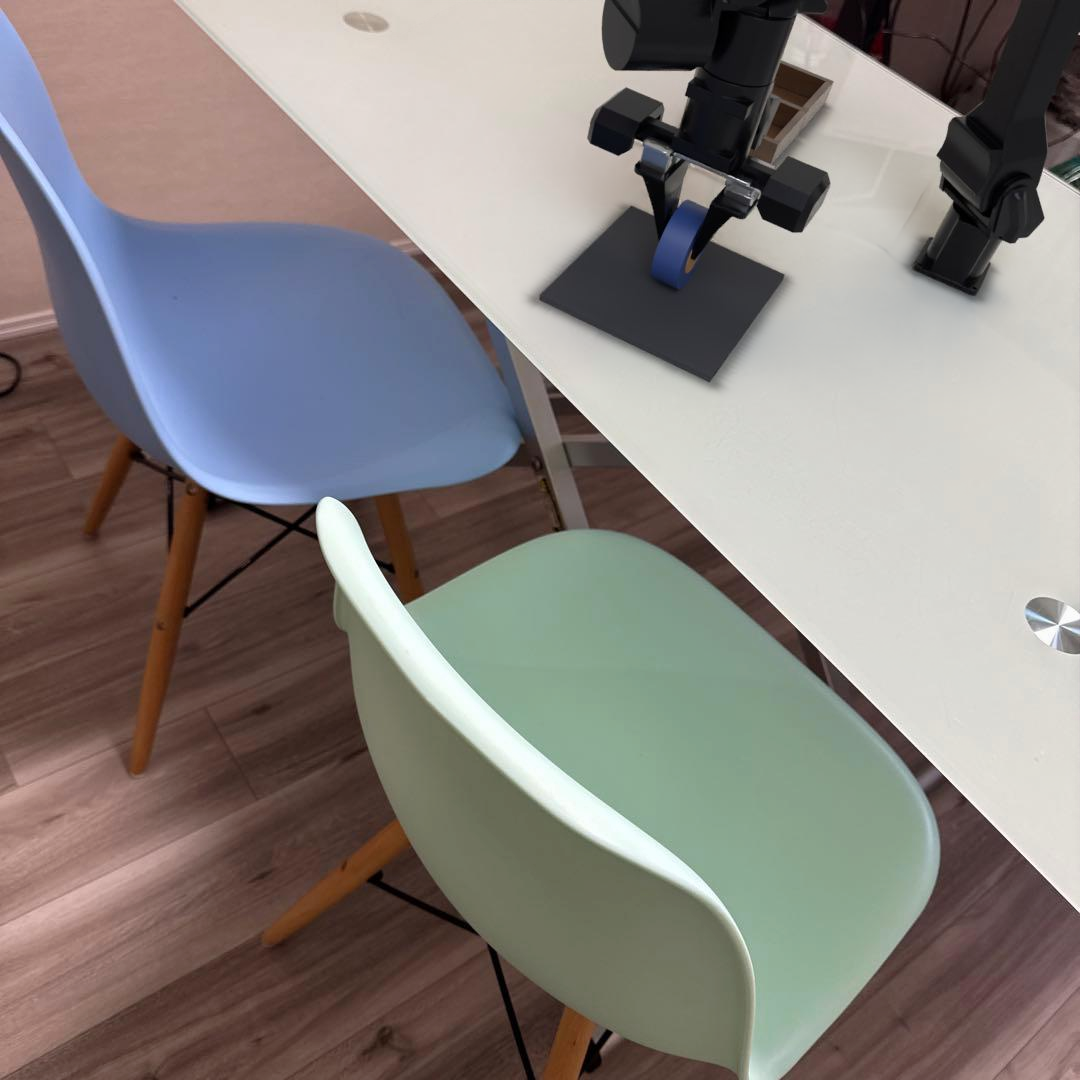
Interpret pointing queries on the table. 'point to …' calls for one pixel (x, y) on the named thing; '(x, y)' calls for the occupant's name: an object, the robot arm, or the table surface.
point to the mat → (664, 296)
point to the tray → (792, 108)
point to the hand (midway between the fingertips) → (679, 250)
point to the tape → (679, 246)
